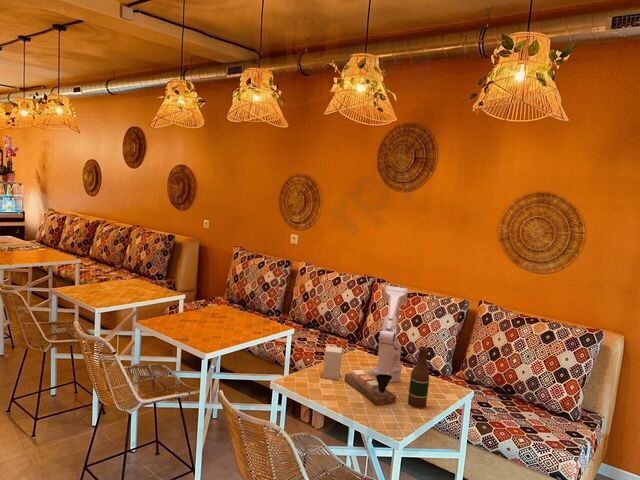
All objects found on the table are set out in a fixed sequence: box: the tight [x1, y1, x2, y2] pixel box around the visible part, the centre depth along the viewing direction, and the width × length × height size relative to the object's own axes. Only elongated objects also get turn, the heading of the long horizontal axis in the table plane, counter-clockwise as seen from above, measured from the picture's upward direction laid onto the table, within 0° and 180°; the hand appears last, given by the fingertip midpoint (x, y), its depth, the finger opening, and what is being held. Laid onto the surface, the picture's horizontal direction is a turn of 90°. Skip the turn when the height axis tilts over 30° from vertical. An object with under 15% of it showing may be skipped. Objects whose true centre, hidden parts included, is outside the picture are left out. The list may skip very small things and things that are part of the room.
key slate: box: [374, 389, 389, 397], centre depth 197 cm, size 4×4×2 cm
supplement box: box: [322, 345, 343, 380], centre depth 218 cm, size 7×7×13 cm
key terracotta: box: [359, 374, 374, 385], centre depth 208 cm, size 4×4×2 cm
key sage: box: [366, 380, 379, 391], centre depth 203 cm, size 4×4×2 cm
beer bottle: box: [407, 345, 430, 409], centre depth 196 cm, size 8×8×24 cm
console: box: [344, 372, 397, 407], centre depth 206 cm, size 9×26×3 cm, turn 27°
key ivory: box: [351, 369, 367, 379], centre depth 213 cm, size 4×4×2 cm
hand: (381, 391), depth 197 cm, fingers closed, pressing on key slate
